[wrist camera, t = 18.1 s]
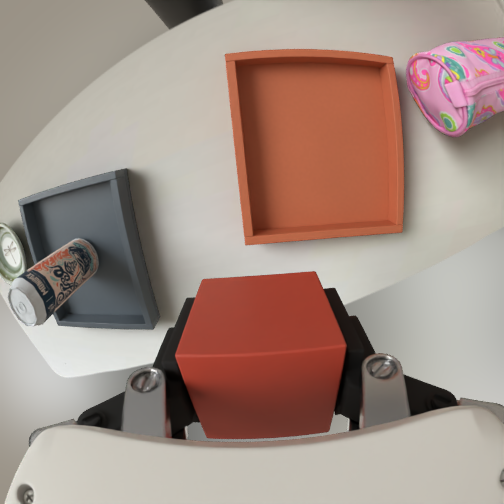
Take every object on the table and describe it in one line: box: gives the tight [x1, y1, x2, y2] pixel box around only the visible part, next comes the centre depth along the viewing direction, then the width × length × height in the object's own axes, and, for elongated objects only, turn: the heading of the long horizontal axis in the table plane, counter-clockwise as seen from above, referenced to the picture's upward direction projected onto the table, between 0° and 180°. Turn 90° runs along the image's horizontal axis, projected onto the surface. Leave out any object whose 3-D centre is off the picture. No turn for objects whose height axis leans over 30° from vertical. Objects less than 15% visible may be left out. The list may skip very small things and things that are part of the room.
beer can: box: [8, 238, 99, 326], centre depth 22 cm, size 5×5×12 cm
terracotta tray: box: [225, 49, 404, 245], centre depth 23 cm, size 18×16×3 cm
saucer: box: [0, 223, 26, 285], centre depth 28 cm, size 10×10×2 cm
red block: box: [175, 271, 347, 439], centre depth 9 cm, size 4×4×4 cm
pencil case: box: [406, 37, 504, 137], centre depth 16 cm, size 21×9×9 cm, turn 119°
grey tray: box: [18, 169, 160, 330], centre depth 27 cm, size 18×16×3 cm
